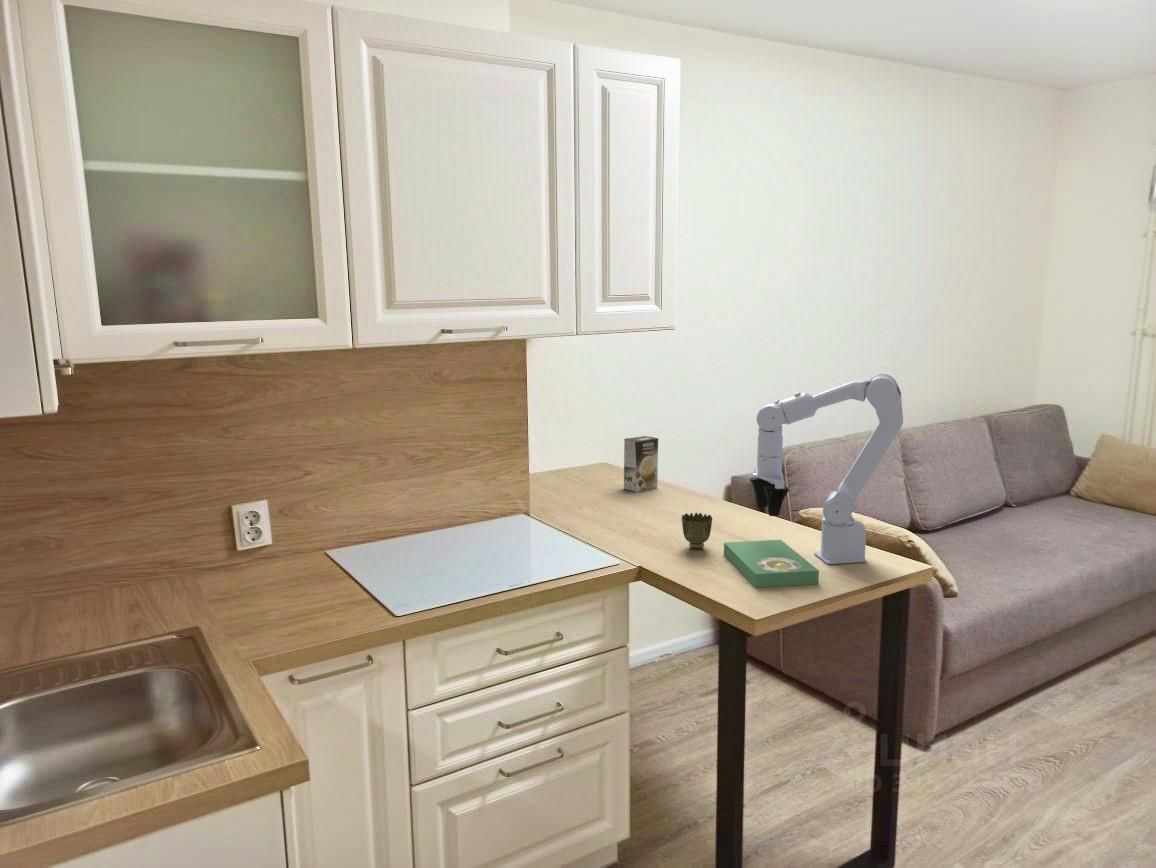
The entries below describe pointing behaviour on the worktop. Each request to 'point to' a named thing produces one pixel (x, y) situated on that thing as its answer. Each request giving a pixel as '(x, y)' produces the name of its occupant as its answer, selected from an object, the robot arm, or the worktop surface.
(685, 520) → the cup
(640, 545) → the worktop surface
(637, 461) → the coffee box
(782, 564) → the ball
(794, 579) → the green rectangular slab
